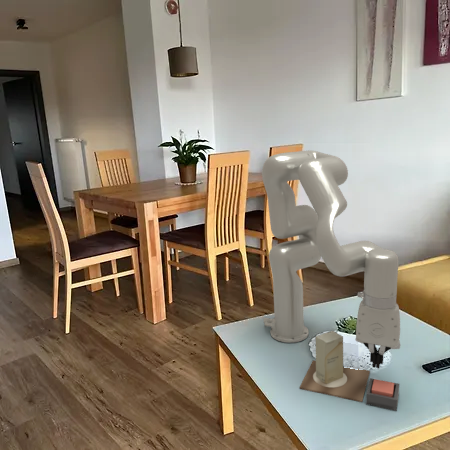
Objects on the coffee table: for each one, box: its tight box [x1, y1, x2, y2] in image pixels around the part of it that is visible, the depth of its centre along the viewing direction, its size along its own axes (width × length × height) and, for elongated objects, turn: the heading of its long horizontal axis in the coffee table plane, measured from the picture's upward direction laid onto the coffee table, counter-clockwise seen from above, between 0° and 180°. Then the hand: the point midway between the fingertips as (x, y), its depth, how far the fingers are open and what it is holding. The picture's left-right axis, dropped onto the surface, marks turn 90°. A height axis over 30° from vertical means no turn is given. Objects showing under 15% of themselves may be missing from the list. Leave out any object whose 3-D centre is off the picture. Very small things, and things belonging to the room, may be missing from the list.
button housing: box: [365, 377, 400, 412], centre depth 106 cm, size 7×7×3 cm
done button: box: [372, 378, 395, 397], centre depth 106 cm, size 5×5×2 cm
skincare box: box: [315, 330, 344, 384], centre depth 115 cm, size 6×4×12 cm
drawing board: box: [299, 359, 371, 403], centre depth 116 cm, size 16×14×1 cm
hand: (376, 364), depth 109 cm, fingers closed
